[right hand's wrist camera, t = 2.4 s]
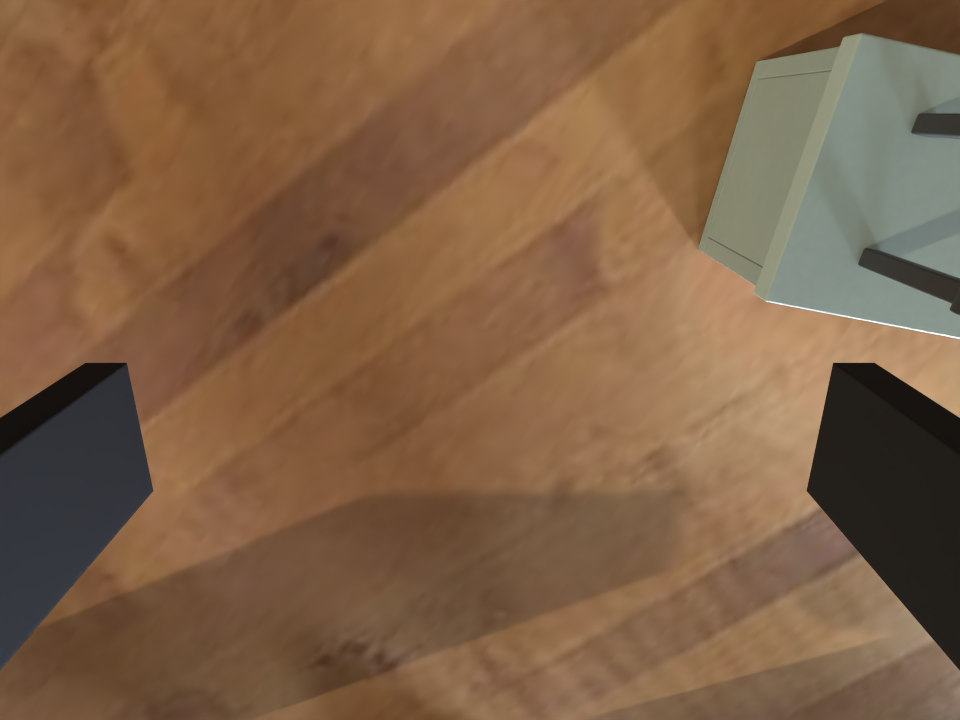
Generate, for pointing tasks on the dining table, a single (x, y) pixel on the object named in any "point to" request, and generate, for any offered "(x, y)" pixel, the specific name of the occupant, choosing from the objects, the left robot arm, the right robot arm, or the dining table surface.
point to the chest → (764, 159)
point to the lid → (877, 193)
